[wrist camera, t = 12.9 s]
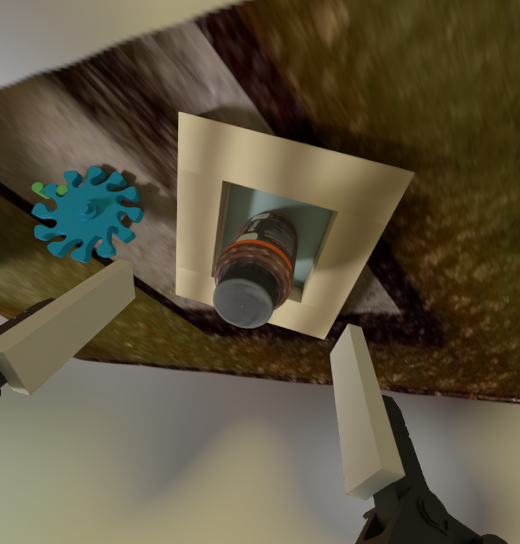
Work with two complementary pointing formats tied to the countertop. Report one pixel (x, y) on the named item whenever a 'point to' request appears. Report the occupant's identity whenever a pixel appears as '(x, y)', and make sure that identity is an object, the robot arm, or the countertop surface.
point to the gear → (86, 213)
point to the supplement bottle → (256, 270)
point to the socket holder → (280, 212)
